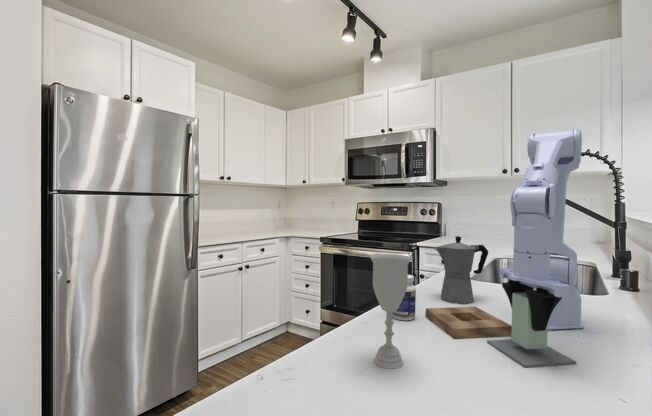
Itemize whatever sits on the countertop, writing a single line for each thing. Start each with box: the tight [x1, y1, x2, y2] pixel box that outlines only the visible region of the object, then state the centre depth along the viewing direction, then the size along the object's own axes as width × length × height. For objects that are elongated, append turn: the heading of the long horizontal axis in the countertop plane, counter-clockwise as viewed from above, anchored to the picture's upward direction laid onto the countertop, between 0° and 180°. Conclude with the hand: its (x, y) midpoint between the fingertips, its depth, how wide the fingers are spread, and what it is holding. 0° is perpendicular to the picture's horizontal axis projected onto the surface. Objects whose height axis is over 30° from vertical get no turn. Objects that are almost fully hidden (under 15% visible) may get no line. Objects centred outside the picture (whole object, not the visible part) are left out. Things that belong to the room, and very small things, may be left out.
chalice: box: [369, 253, 412, 370], centre depth 58 cm, size 7×7×18 cm
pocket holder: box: [425, 306, 512, 340], centre depth 75 cm, size 13×13×2 cm
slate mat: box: [486, 338, 577, 368], centre depth 62 cm, size 10×10×1 cm
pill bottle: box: [392, 274, 417, 321], centre depth 80 cm, size 6×6×10 cm
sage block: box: [510, 292, 549, 349], centre depth 62 cm, size 4×4×9 cm
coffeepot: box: [434, 235, 489, 305], centre depth 95 cm, size 15×9×18 cm, turn 94°
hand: (529, 325), depth 62 cm, fingers closed on sage block, 4 cm apart
